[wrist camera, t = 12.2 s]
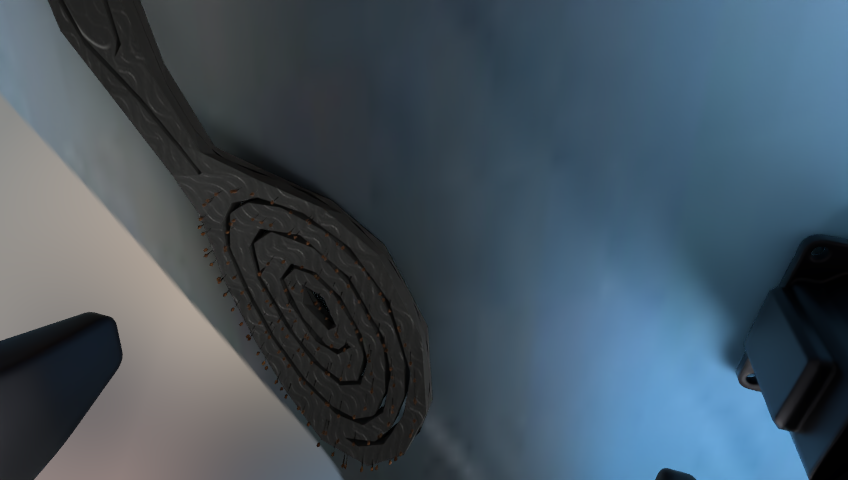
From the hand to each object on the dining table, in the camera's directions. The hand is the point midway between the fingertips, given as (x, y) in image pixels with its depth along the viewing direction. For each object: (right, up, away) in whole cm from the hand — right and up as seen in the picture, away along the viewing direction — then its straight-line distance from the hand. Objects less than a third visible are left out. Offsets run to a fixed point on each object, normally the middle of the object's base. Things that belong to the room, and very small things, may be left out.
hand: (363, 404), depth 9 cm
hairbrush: (-6, +5, +15) cm, 17 cm away
